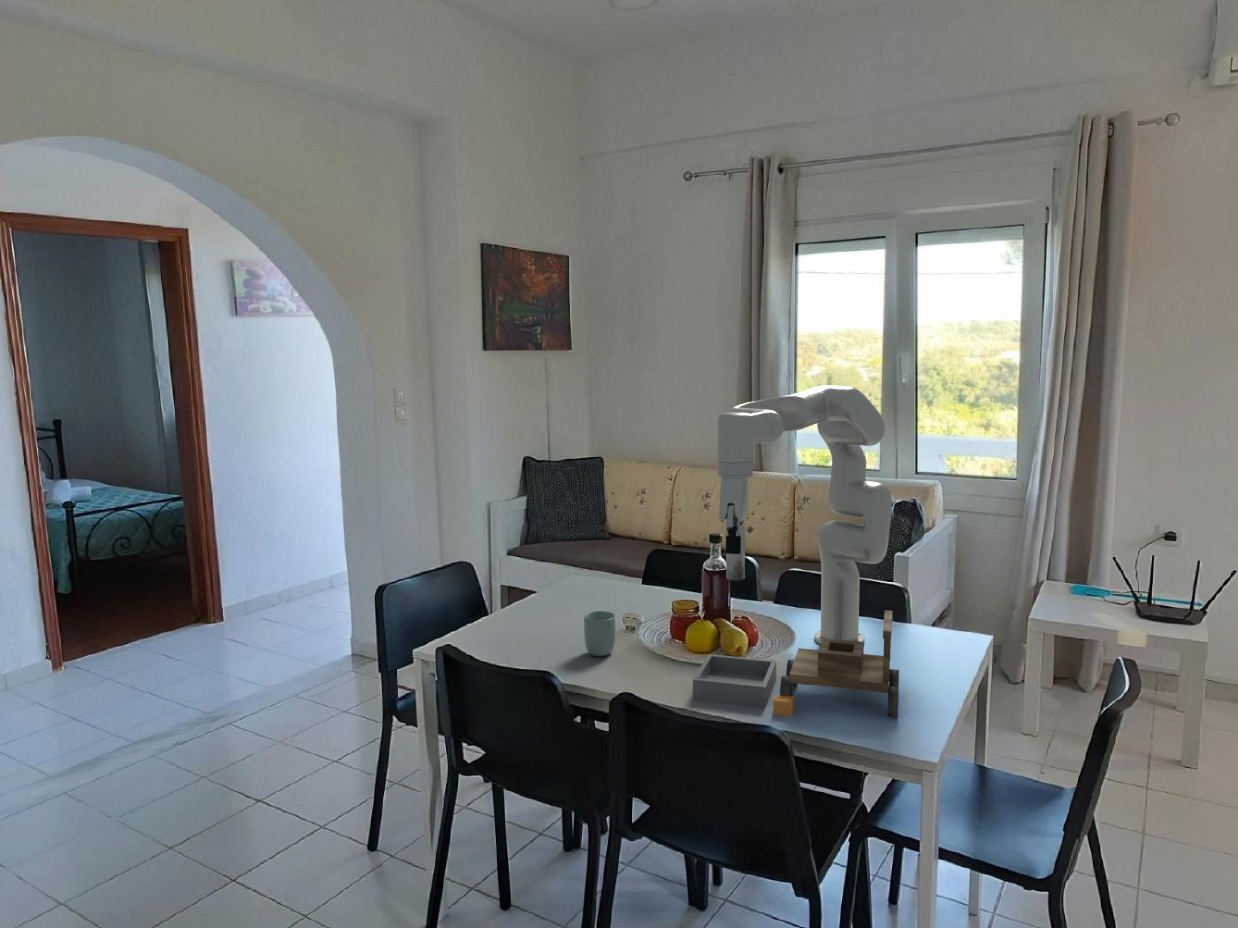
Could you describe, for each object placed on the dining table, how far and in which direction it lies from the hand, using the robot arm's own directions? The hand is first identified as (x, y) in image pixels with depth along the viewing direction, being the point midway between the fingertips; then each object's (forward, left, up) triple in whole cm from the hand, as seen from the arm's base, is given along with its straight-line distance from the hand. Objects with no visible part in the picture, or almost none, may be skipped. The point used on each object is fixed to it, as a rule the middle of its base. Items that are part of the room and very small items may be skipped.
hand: (735, 550), depth 194 cm
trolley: (0, +23, -32) cm, 40 cm away
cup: (-13, -37, -32) cm, 51 cm away
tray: (0, 0, -32) cm, 32 cm away
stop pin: (0, 0, -6) cm, 6 cm away
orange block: (+9, +12, -32) cm, 36 cm away
